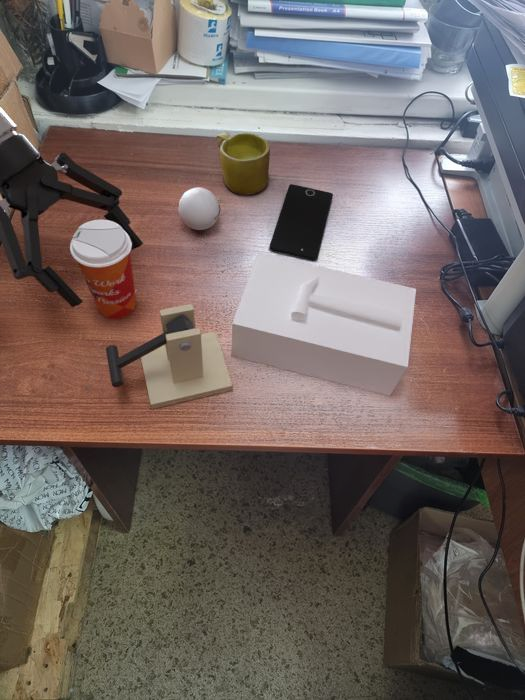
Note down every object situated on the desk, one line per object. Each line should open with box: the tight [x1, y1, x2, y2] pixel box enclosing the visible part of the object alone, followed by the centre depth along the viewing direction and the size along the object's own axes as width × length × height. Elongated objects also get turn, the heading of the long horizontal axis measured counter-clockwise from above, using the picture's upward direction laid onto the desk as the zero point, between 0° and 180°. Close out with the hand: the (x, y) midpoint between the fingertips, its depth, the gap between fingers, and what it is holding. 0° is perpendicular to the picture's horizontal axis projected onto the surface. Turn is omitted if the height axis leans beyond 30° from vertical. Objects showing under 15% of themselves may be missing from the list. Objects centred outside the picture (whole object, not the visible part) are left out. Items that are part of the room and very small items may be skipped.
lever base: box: [140, 303, 234, 410], centre depth 71 cm, size 12×10×13 cm
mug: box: [216, 131, 271, 196], centre depth 98 cm, size 12×10×10 cm
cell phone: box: [268, 183, 334, 262], centre depth 95 cm, size 9×18×1 cm, turn 166°
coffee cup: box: [69, 219, 137, 320], centre depth 76 cm, size 8×8×15 cm
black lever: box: [105, 315, 194, 388], centre depth 68 cm, size 13×6×2 cm, turn 107°
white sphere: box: [177, 187, 221, 231], centre depth 91 cm, size 10×7×7 cm
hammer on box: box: [230, 251, 417, 397], centre depth 77 cm, size 14×25×11 cm, turn 76°
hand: (109, 274), depth 75 cm, fingers open, 13 cm apart
